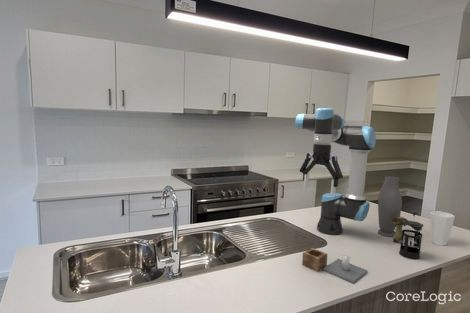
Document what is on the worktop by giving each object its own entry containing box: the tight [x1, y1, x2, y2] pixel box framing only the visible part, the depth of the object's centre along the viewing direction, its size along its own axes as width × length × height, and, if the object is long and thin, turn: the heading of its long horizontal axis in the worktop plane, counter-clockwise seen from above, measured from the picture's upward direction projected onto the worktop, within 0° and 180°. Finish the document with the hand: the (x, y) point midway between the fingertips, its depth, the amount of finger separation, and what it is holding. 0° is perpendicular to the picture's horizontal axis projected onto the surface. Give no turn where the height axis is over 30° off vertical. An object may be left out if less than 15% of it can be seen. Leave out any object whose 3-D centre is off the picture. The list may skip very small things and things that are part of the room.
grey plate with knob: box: [322, 254, 368, 285], centre depth 130 cm, size 14×14×7 cm
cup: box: [429, 210, 456, 247], centre depth 164 cm, size 11×10×17 cm
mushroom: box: [391, 216, 409, 243], centre depth 163 cm, size 9×9×15 cm
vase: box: [377, 175, 403, 238], centre depth 174 cm, size 13×13×35 cm
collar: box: [301, 247, 328, 273], centre depth 135 cm, size 8×8×6 cm
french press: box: [398, 210, 424, 260], centre depth 147 cm, size 12×9×23 cm
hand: (318, 190), depth 130 cm, fingers open, 13 cm apart
